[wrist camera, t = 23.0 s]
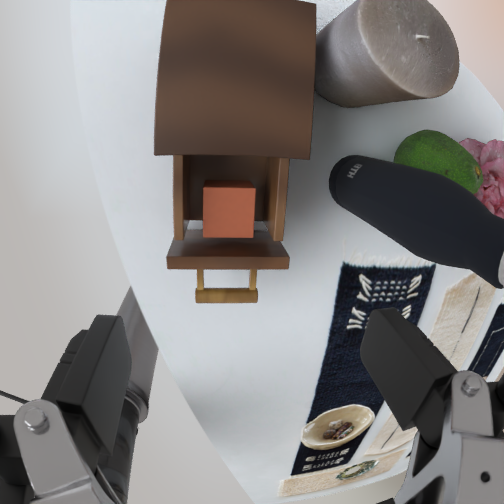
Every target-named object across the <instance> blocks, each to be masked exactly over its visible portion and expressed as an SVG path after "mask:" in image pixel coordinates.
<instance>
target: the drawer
mask: <svg viewBox="0 0 504 504" xmlns="http://www.w3.org/2000/svg"><path fill="white" fill-rule="evenodd" d="M289 161H290V158H277V157H259V156H235V155H173V219H174V238H173V241H172V244H171V246H170V249H169V251H168V254H167V257H166V259H167V269H197V288H196V291H195V299H196V303H257V301H258V291H257V288H256V277H257V269H288V268H289V260H290V257H289V255H288V253H287V252H286V250H285V248H284V247H283V245H282V243H281V242H280V241H283V234H284V223H285V211H286V199H287V187H288V174H289ZM205 180H235V181H250V182H251V183H252V184H253V185H254V187H255V188H256V197H255V215H254V221H263V222H264V224H265V226H266V228H267V229H268V231H261V230H254V234H253V238H214V237H203V230H187V227H188V223H189V220H203V187H204V183H205ZM203 269H250V277H249V288H204V271H203Z"/></svg>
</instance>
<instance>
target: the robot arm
mask: <svg viewBox="0 0 504 504" xmlns="http://www.w3.org/2000/svg"><path fill="white" fill-rule="evenodd" d="M360 356H361V360H362V362H363V364H364V366H365V367H366V369H367V371H368V372H369V374H370V376H371V377H372V379H373V381H374V382H375V384H376V386H377V387H378V389H379V391H380V393H381V394H382V396H383V398H384V399H385V401H386V403H387V404H388V406H389V408H390V410H391V411H392V413H393V415H394V416H395V418H396V420H397V422H398V423H399V425H400V427H401V429H402V430H403V431H405V430H407V429H410V428H413V427H417V429H418V431H417V433H416V434H415V437H414V441H413V447H412V451H411V456H410V460H409V465H408V469H407V473H406V477H405V480H404V483H403V485H402V487H401V489H400V490H399V492H398V493H397V495H396V496H395V498H394V499H393V498H390V499H388V500H385V501H382V502H380V503H377V504H504V432H503V431H502V430H503V429H504V374H503V375H502V377H501V379H500V380H499V382H486V381H485V380H484V379H483V378H482V377H481V376H480V375H478V374H476V373H474V372H471V371H459V372H458V371H457V370H456V369H455V368H454V367H453V365H452V364H451V363H450V362H449V361H448V360H447V359H446V357H445V356H444V355H443V354H442V353H441V352H440V351H439V350H438V348H437V347H436V346H433V343H432V342H431V341H430V340H429V338H428V339H427V336H426V335H425V334H424V333H423V332H422V331H421V330H420V329H419V328H418V327H417V326H415V325H414V324H412V323H410V322H409V321H407V320H406V319H405V318H404V317H403V316H402V315H401V314H400V313H399V312H398V310H397V309H395V308H385V309H375V310H373V311H372V312H371V314H370V317H369V320H368V324H367V327H366V330H365V334H364V337H363V340H362V343H361V347H360ZM131 368H132V360H131V353H130V349H129V345H128V341H127V336H126V332H125V327H124V323H123V319H122V317H121V316H113V315H97V316H96V317H95V319H94V321H93V323H92V324H91V326H90V328H89V330H81V331H80V332H79V333H78V334H77V335H76V336H74V337H73V338H72V339H71V341H70V342H69V344H68V346H67V348H66V350H65V353H64V354H63V355H62V357H61V359H60V363H58V365H57V367H56V369H55V371H54V373H53V375H52V377H51V379H50V381H49V383H48V385H47V387H46V389H45V391H44V393H43V395H42V397H41V399H38V400H32V401H27V400H24V399H21V398H19V397H16V396H14V395H11V394H8V393H5V392H3V391H0V395H2V396H5V397H8V398H10V399H13V400H15V401H18V402H21V403H23V404H24V405H23V406H21V408H19V410H18V411H17V413H16V415H0V504H127V499H128V490H129V481H130V473H131V465H132V459H133V452H134V445H135V439H136V435H137V433H138V429H137V427H138V422H139V418H140V408H139V406H138V405H137V403H136V402H135V401H134V400H133V399H131V398H130V397H128V396H127V395H125V394H126V390H127V386H128V382H129V378H130V374H131ZM34 497H35V498H34Z"/></svg>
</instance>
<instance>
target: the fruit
mask: <svg viewBox="0 0 504 504" xmlns="http://www.w3.org/2000/svg"><path fill="white" fill-rule="evenodd" d="M394 163H397V164H402V165H406V166H410V167H414V168H418V169H422V170H426V171H430V172H434V173H437V174H441V175H443V176H445V177H447V178H449V179H451V180H453V181H455V182H456V183H458V184H460V185H461V186H463V187H464V188H466V189H467V190H469V191H470V192H471V193H472V194H475V193H477V192H478V190H479V188H480V186H481V184H482V183H483V174H482V170H481V168H480V166H479V164H478V163H477V161H476V160H475V159H474V157H473V156H472V155H471V154H470V153H469V152H468V151H467V150H466V149H465V148H464V147H463V146H461V145H460V144H459V143H458V142H456V141H455V140H453V139H452V138H450V137H448V136H447V135H445V134H443V133H440V132H438V131H432V130H423V131H419V132H417V133H415V134H412V135H410V136H409V137H407V138H405V140H404V141H403V142H402V143H401V145H400V146H399V147H398V149H397V151H396V153H395V157H394Z"/></svg>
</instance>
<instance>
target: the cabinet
mask: <svg viewBox="0 0 504 504" xmlns="http://www.w3.org/2000/svg"><path fill="white" fill-rule="evenodd" d="M315 58H316V4H314V3H309V2H304V1H299V0H167V1H166V7H165V14H164V20H163V28H162V35H161V44H160V53H159V63H158V74H157V87H156V103H155V126H154V155H155V156H158V155H235V156H259V157H277V158H291V159H303V160H309V159H310V149H311V136H312V121H313V104H314V84H315Z"/></svg>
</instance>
